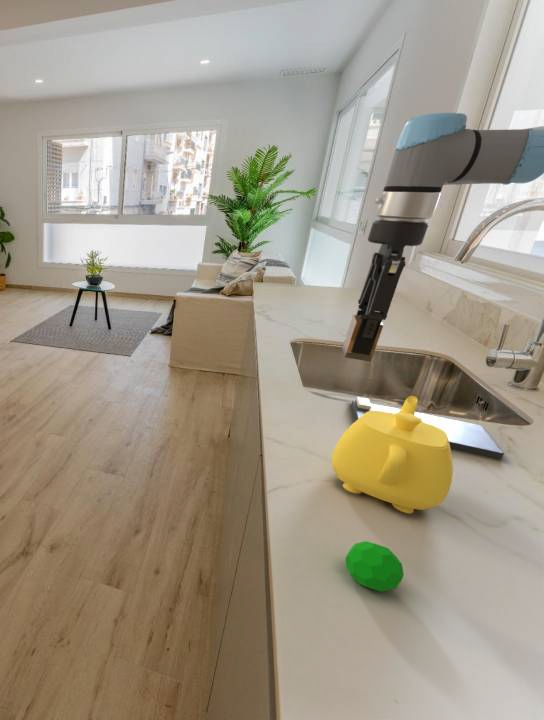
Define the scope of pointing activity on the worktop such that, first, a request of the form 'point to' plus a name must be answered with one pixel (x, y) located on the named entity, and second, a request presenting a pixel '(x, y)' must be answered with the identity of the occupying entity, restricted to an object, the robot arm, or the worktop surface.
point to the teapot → (395, 459)
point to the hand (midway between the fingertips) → (358, 348)
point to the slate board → (450, 432)
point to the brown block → (352, 336)
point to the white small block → (428, 421)
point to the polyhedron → (374, 566)
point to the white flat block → (363, 403)
